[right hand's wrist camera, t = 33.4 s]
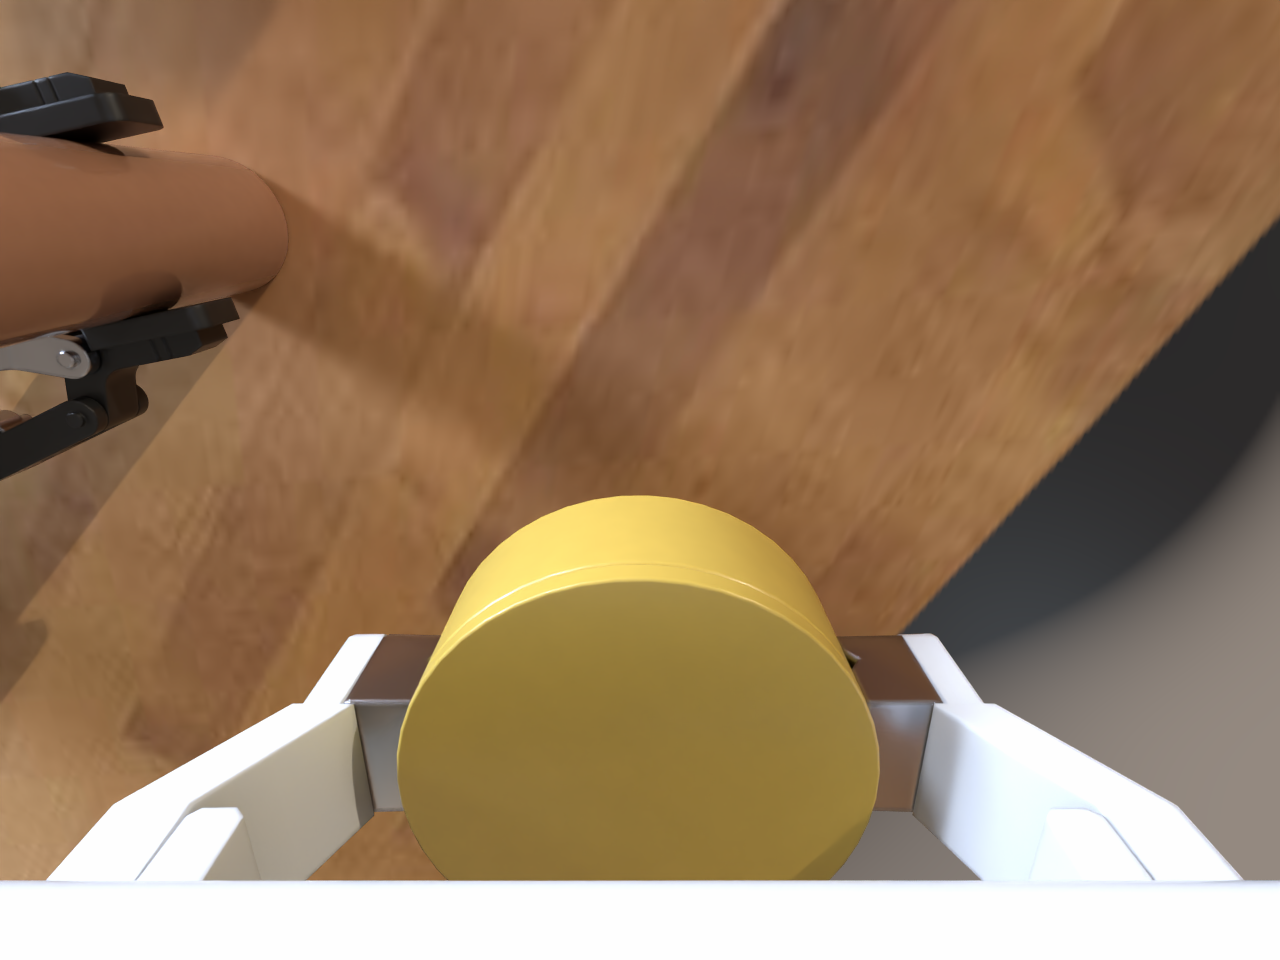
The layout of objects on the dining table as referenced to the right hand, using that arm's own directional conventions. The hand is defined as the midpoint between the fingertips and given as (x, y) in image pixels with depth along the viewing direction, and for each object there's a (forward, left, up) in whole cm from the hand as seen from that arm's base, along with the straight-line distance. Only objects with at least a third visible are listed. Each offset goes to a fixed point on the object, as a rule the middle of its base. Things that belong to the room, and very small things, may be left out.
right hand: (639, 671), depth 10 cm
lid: (0, 0, +2) cm, 2 cm away
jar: (-13, -11, -20) cm, 26 cm away
